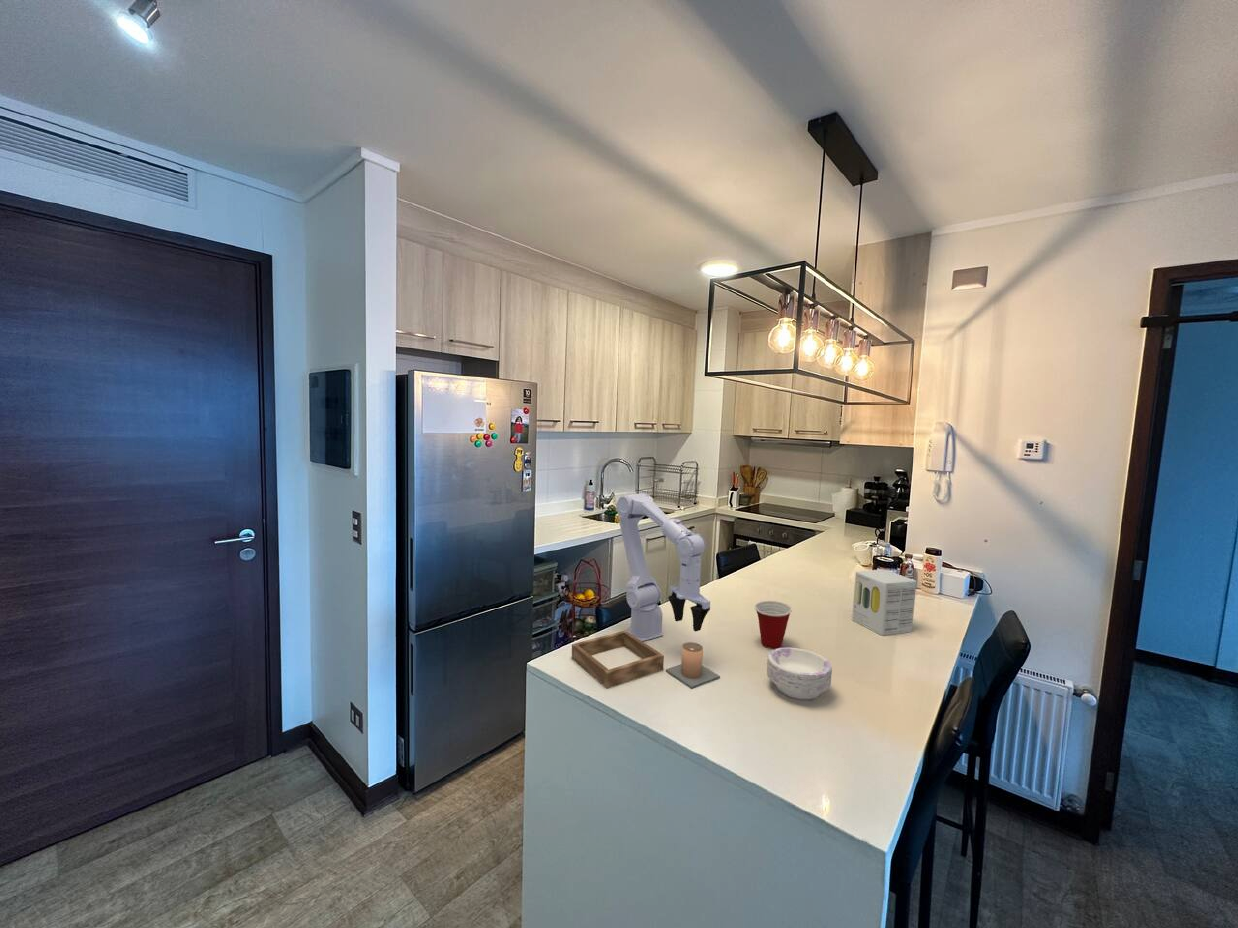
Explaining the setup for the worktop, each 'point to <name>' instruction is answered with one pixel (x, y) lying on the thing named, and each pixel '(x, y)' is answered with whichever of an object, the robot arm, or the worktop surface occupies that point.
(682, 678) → the slate pad
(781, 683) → the paper bowls
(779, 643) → the plastic cup
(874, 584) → the supplement box
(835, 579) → the worktop surface
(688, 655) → the terracotta pot
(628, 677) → the brown wooden square frame
